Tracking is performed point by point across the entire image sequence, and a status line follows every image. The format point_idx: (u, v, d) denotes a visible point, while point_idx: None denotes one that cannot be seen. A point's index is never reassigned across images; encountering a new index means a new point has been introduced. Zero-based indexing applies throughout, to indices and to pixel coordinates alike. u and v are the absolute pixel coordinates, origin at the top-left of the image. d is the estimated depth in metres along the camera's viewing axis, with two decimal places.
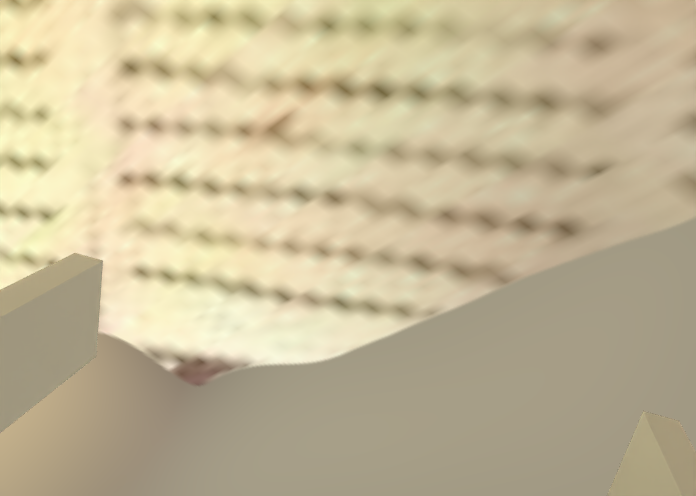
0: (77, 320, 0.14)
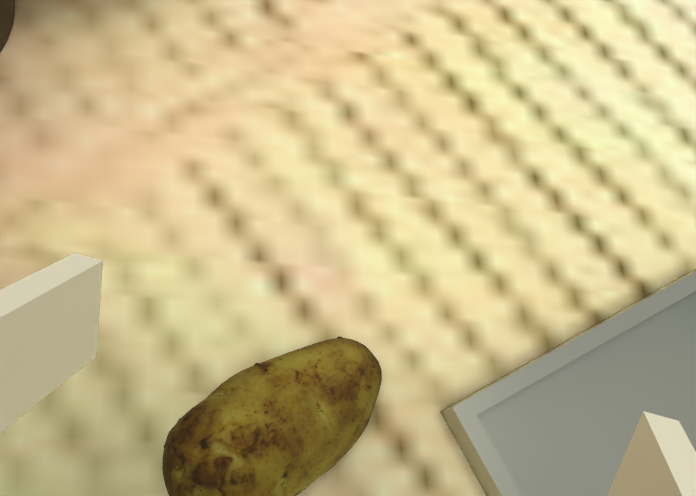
0: (77, 320, 0.14)
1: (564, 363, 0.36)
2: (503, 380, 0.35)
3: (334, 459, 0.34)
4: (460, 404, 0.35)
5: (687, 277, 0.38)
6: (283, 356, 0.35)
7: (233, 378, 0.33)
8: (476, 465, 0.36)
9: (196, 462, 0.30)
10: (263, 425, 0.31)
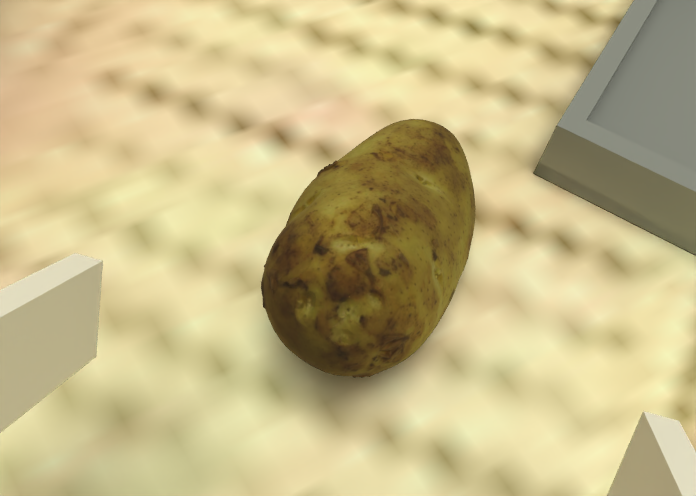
0: (77, 320, 0.14)
1: (634, 35, 0.30)
2: (588, 77, 0.29)
3: (467, 242, 0.26)
4: (563, 118, 0.28)
5: None
6: (344, 156, 0.26)
7: (302, 194, 0.24)
8: (612, 187, 0.29)
9: (324, 273, 0.21)
10: (378, 200, 0.22)
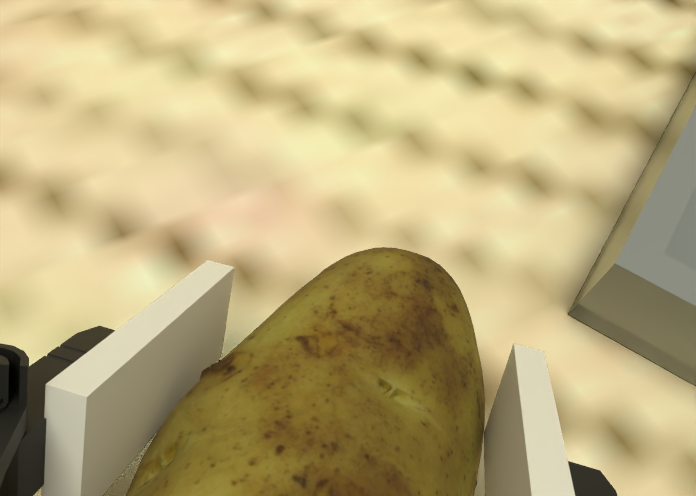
0: (214, 322, 0.16)
1: None
2: (662, 175, 0.18)
3: (472, 488, 0.15)
4: (624, 250, 0.17)
5: None
6: (254, 331, 0.15)
7: (163, 427, 0.13)
8: None
9: None
10: (290, 484, 0.11)
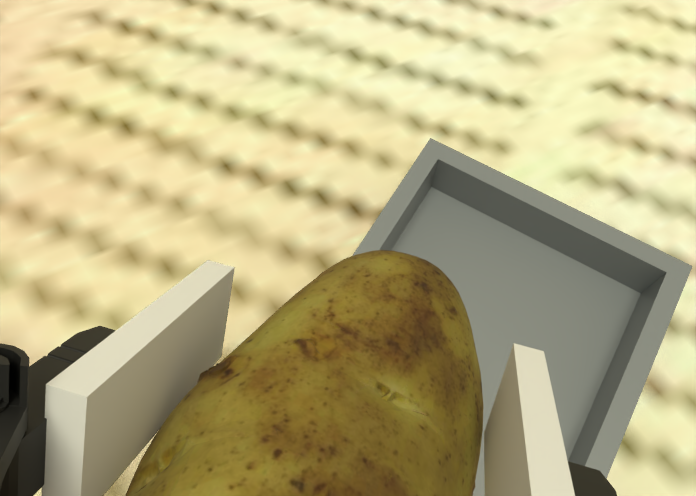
0: (214, 322, 0.16)
1: None
2: None
3: (470, 491, 0.15)
4: None
5: (404, 180, 0.33)
6: (252, 334, 0.15)
7: (161, 430, 0.13)
8: None
9: None
10: (288, 487, 0.11)
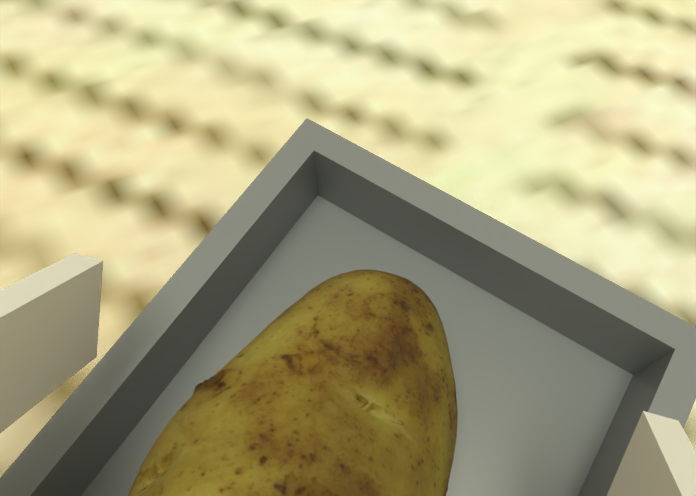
0: (77, 320, 0.14)
1: (66, 446, 0.17)
2: None
3: (442, 494, 0.16)
4: None
5: (255, 182, 0.21)
6: (244, 349, 0.16)
7: (160, 438, 0.14)
8: None
9: None
10: (272, 491, 0.12)
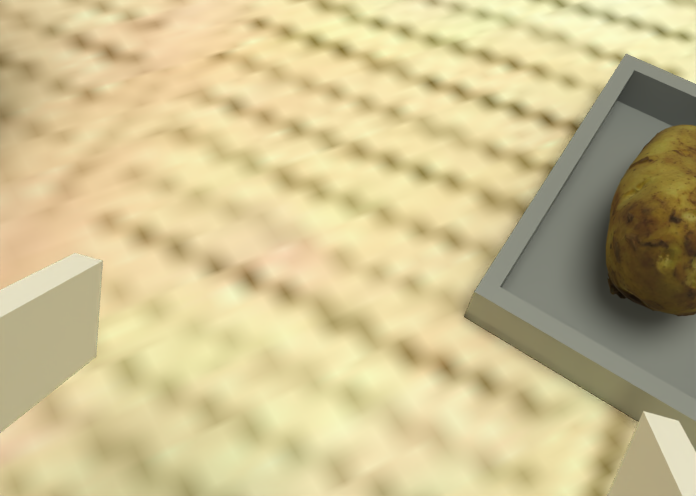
0: (77, 320, 0.14)
1: (549, 204, 0.35)
2: (505, 244, 0.34)
3: None
4: (480, 285, 0.33)
5: (606, 86, 0.39)
6: (644, 152, 0.34)
7: (627, 181, 0.33)
8: (524, 339, 0.34)
9: (682, 236, 0.29)
10: None
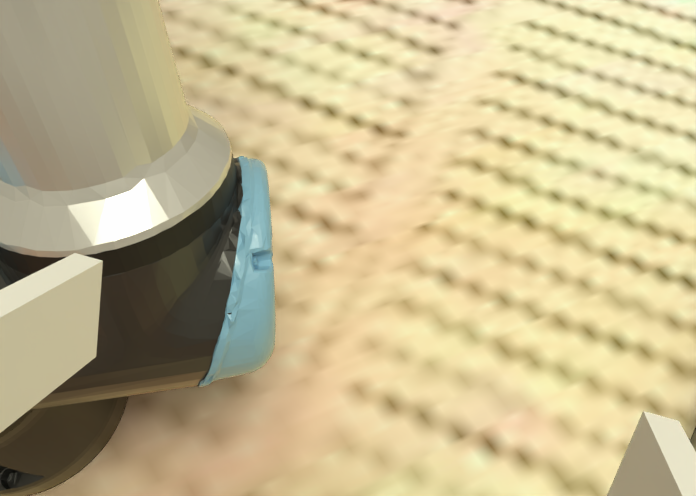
0: (77, 320, 0.14)
1: None
2: None
3: None
4: None
5: None
6: None
7: None
8: None
9: None
10: None
